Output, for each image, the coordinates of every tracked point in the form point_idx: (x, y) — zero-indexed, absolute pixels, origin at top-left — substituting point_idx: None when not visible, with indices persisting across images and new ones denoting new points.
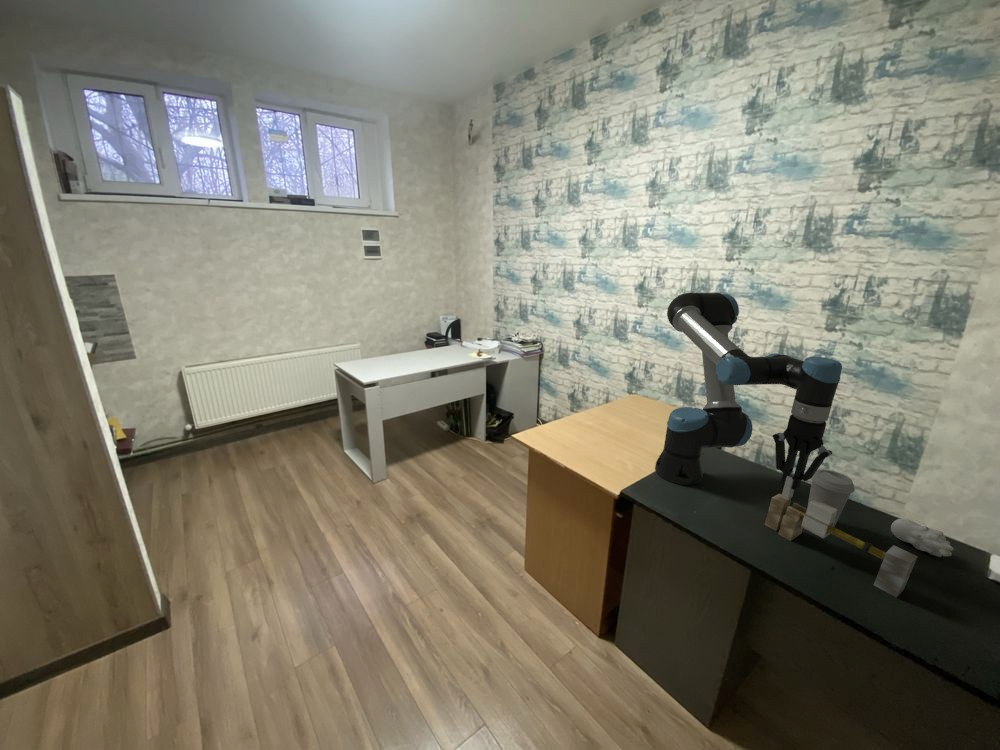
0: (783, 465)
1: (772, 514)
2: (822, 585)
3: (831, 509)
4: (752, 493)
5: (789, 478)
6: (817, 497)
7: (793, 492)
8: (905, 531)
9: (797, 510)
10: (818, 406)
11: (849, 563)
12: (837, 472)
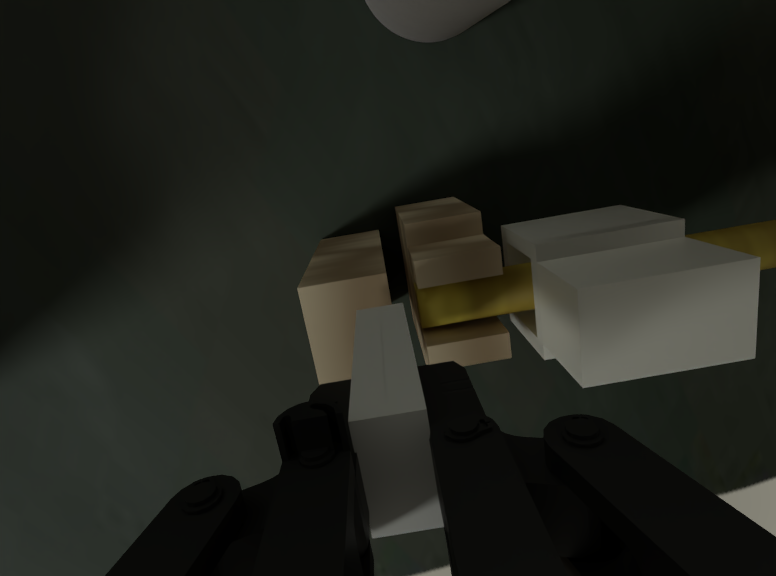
0: (232, 566)
1: None
2: (669, 430)
3: (729, 312)
4: (65, 89)
5: (407, 525)
6: (452, 6)
7: (405, 318)
8: None
9: (485, 342)
10: None
11: (673, 192)
12: None
